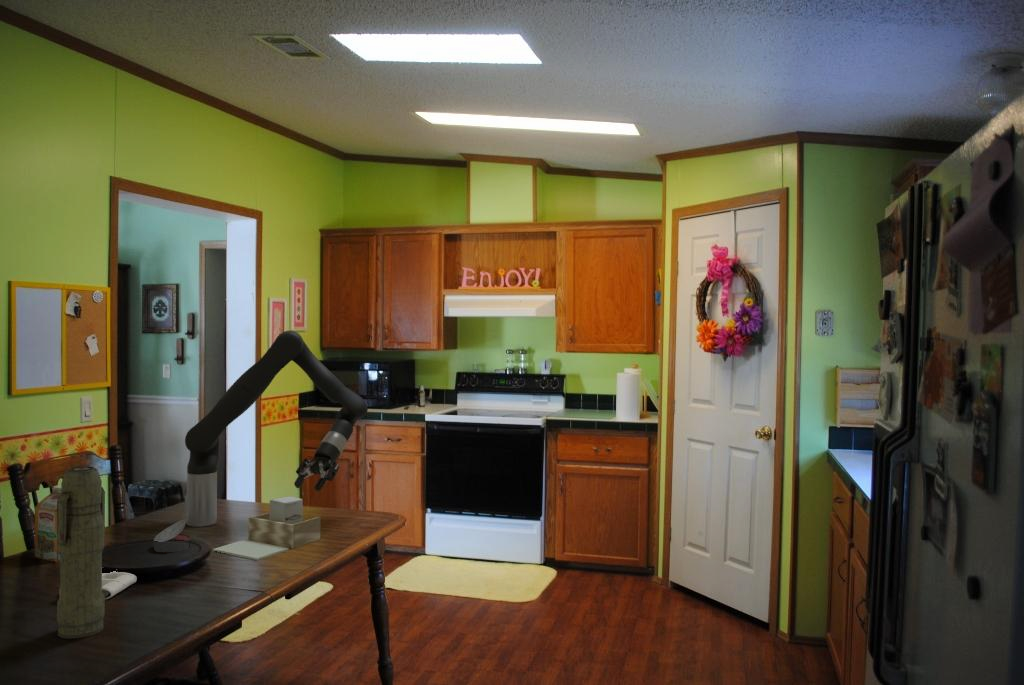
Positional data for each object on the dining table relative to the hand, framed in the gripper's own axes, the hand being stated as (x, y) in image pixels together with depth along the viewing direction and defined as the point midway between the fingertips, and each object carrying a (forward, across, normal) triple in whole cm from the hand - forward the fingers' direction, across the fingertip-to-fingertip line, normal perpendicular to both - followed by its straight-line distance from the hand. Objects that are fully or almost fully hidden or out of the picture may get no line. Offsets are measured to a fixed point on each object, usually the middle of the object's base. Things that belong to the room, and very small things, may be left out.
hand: (306, 488), depth 245 cm
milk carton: (+48, -42, -27) cm, 69 cm away
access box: (+16, 0, +4) cm, 17 cm away
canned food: (+34, -22, -13) cm, 42 cm away
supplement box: (+17, 0, +4) cm, 17 cm away
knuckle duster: (+58, -6, -36) cm, 69 cm away
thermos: (+70, +15, -49) cm, 86 cm away
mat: (+26, 0, -6) cm, 27 cm away
